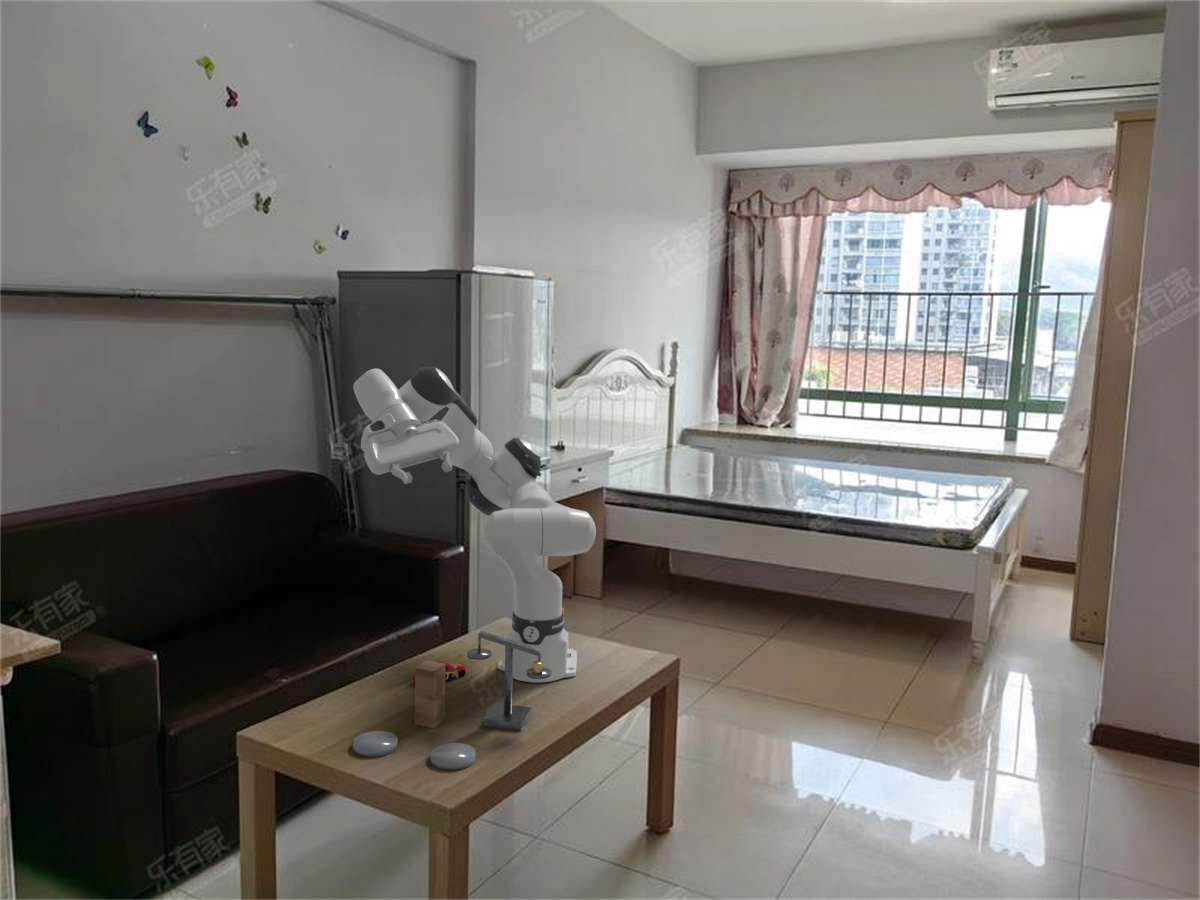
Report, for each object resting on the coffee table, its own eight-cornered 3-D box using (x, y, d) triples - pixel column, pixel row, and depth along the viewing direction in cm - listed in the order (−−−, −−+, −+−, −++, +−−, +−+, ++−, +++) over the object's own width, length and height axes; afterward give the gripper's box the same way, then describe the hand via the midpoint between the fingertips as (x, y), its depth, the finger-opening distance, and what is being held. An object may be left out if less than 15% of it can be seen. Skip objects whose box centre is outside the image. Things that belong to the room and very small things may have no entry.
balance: (472, 707, 199) (474, 624, 196) (554, 716, 196) (556, 632, 193) (460, 723, 191) (461, 636, 188) (544, 733, 188) (547, 645, 185)
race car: (456, 669, 220) (456, 653, 220) (470, 676, 217) (471, 659, 216) (409, 683, 211) (409, 666, 210) (423, 690, 207) (423, 673, 207)
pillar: (426, 715, 194) (426, 660, 192) (444, 719, 192) (445, 663, 191) (414, 724, 190) (415, 667, 188) (433, 728, 188) (434, 671, 187)
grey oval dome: (364, 734, 184) (364, 728, 184) (404, 739, 183) (404, 733, 183) (345, 753, 176) (345, 747, 176) (387, 759, 175) (387, 753, 175)
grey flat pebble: (439, 746, 181) (439, 740, 180) (481, 751, 179) (481, 745, 179) (423, 766, 172) (423, 760, 172) (467, 772, 171) (467, 766, 171)
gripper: (438, 427, 210) (468, 472, 204) (353, 449, 198) (383, 497, 192) (444, 408, 205) (475, 453, 199) (357, 429, 193) (388, 478, 187)
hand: (429, 475), depth 195 cm, fingers open, 8 cm apart
